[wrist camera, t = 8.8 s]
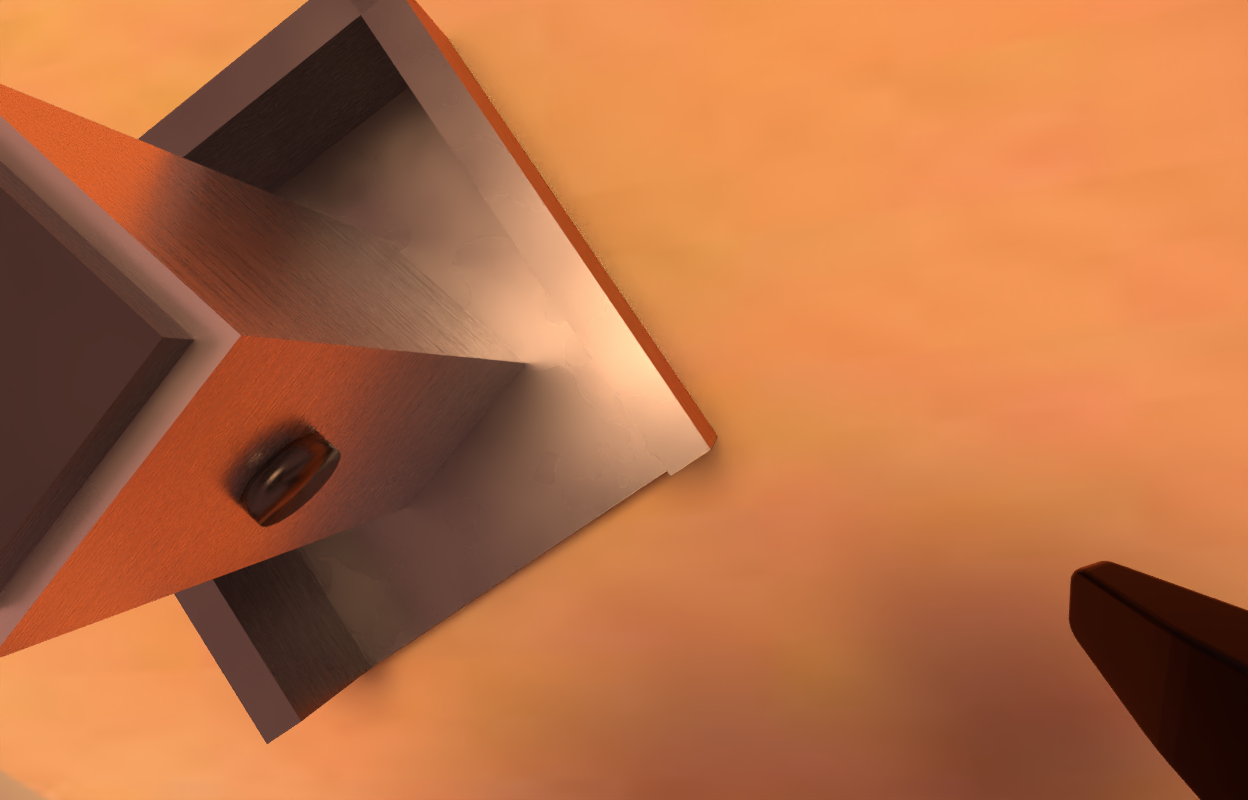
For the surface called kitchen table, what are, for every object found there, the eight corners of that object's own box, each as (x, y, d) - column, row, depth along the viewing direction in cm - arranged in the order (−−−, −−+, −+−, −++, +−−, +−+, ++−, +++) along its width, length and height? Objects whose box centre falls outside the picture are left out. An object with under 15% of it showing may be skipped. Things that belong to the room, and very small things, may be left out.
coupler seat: (717, 435, 21) (710, 450, 17) (360, 673, 23) (267, 744, 18) (446, 37, 22) (371, -51, 18) (119, 292, 24) (-26, 271, 19)
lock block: (538, 373, 21) (238, 356, 8) (417, 518, 21) (-29, 702, 9) (385, 239, 21) (-108, 41, 9) (271, 384, 22) (-339, 384, 10)
